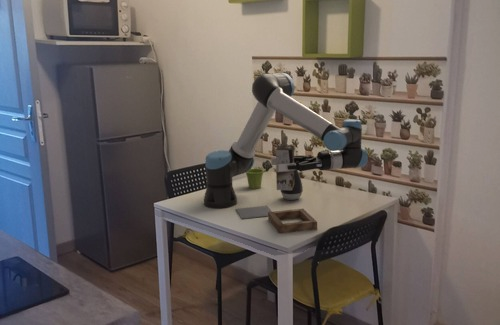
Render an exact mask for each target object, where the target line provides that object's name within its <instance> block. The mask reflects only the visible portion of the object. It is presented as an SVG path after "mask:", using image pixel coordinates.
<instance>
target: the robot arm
mask: <svg viewBox="0 0 500 325" xmlns="http://www.w3.org/2000/svg"><path fill="white" fill-rule="evenodd" d="M295 88H296V87H295V82H294V80H293V78H292V77H291V76H290V75H289V74H287V73H285V72H280V71H277V72H274V73H263V74H260V75H259V76H257V77H256V78H255V79H254V80H253V83H252V85H251V91H252V92H251V93H252V94H253V97H254V98H255V100H256V101H257V103H256V105H255V107H254V108H253V111H252V112H251V115H250V117H249V118H248V121H247V122H246V124H245V125H244V128H243V130H242V132H241V134H240V135H239V138H238V139H237V141H235V142H233V143H232V144H231V146H230V147H229V150H222V149H221V150H217V151H212V152H210V153H208V154H207V155H206V157H205V162H204V164H205V165H204V166H205V177H206V179H205V180H206V190H205V194H204V197H203V205H204V206H205V207H207V208H213V209H223V208H224V209H225V208H230V207H234V206H236V205H237V203H238V197H237V194H236V193H235V189H234V186H233V178H234V177H236V176H240V175H243V174H245V173H246V172H247V171H249V170H250V169H253V166H254V164H255V154H256V153H255V148H256V146H257V145H258V143H259V141H260V140H261V138H262V136H263V134H264V132H265V130H266V129H267V127H268V125H269V124H270V121H271V119H272V117H273V116H274V114H275V112H278V113H279V114H281V115H283V116H284V117H285V118H287V119H289V120H290V121H292V122H293V123H295V124H296V125H297V126H299V127H301V128H302V129H303V130H305V131H307V132H309V133H310V134H311V135H313V136H314V137H316V138H317V139H319V140H321V141H322V142H323V145H324V147H325V148H326V149H327V150H328V151H327V150H325V151H319V152H317V155H316V156H314V155H311V154H308V155H307V154H306V155H294V163H286V164H278V171H291V170H295V169H296V170H297V171H298V172H303V171H304V172H306V171H312V170H317V169H318V170H320V171H329V170H330V171H331V170H334V171H337V170H342V169H357V168H363V167H365V166H366V165H367V163H368V159H369V157H368V151H367V150H366V149H365V148H362V131H363V128H362V126H363V125H362V121H361V120H360V119H351V118H349V119H344V120H343V121H342V125H341V127H338V126H336V125H335V124H334V123H332V122H331V121H328V120H327V119H325V117H322V116H321V115H319V113H316V112H314V111H313V110H311V109H310V108H309V107H307V106H305V105H304V104H302V103H301V102H299V101H297V100H296V99H294V98H293V97H292V96H293V94H295V93H294V92H295ZM270 163H271V166H276V157H271V158H270Z"/></svg>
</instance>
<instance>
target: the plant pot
mask: <svg viewBox="0 0 500 325" xmlns="http://www.w3.org/2000/svg"><path fill="white" fill-rule="evenodd" d="M264 171H265V170H264V169H261V168H251V169H250V170H249V171H247V172H246V177H247V184H248V188H249V189H252V190H256V189H261V188H262V181H263V176H264Z"/></svg>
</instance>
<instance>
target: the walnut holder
mask: <svg viewBox="0 0 500 325" xmlns="http://www.w3.org/2000/svg"><path fill="white" fill-rule="evenodd" d="M298 218H300V219H301V220H302V221H296V222H286V223H283V222H282V221H281V220H289V219H298ZM267 219H268V221H269V222H270V223H271V225H272V226H273V227H274V229H275V230H276V231H277V232H278V234H286V233H297V232H303V231H304V230H306V231H313V230H312V229H315V230H318V221H317V220H316V219H315V218H314V217H313V216H312V215H311V214H310V213H309V212H307V210H305V209H304V208H297V209H296V208H295V209H286V210H277V211H274V210H273V211H272V212H268V218H267ZM296 231H297V232H296ZM304 232H305V231H304Z"/></svg>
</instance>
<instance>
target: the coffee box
mask: <svg viewBox="0 0 500 325" xmlns="http://www.w3.org/2000/svg"><path fill="white" fill-rule="evenodd" d="M275 153H276V154H275V158H276V165H275V166H276V168H275V169H276V171H275V172H276V176H275V177H276V182H275V183H276V191H281V190H292V189H293V186H294V170H291V171H278V164H286V163H294V156H295V145H278V146H277V147H276V149H275Z"/></svg>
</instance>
